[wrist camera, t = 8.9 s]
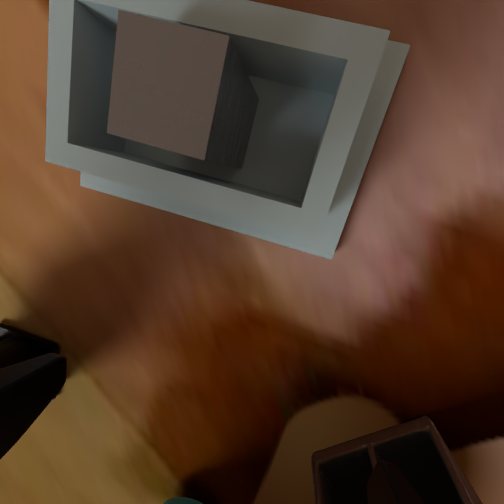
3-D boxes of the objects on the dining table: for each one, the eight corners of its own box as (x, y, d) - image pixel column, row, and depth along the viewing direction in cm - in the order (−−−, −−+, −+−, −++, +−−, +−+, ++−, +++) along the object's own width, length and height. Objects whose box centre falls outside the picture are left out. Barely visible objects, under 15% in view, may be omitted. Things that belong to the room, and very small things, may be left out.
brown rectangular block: (182, 152, 17) (106, 133, 10) (194, 82, 16) (118, 9, 9) (242, 169, 17) (204, 160, 10) (259, 99, 15) (229, 35, 9)
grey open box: (90, 185, 20) (15, 187, 14) (105, -12, 16) (12, -105, 11) (330, 255, 18) (343, 286, 13) (403, 53, 15) (462, -19, 9)
